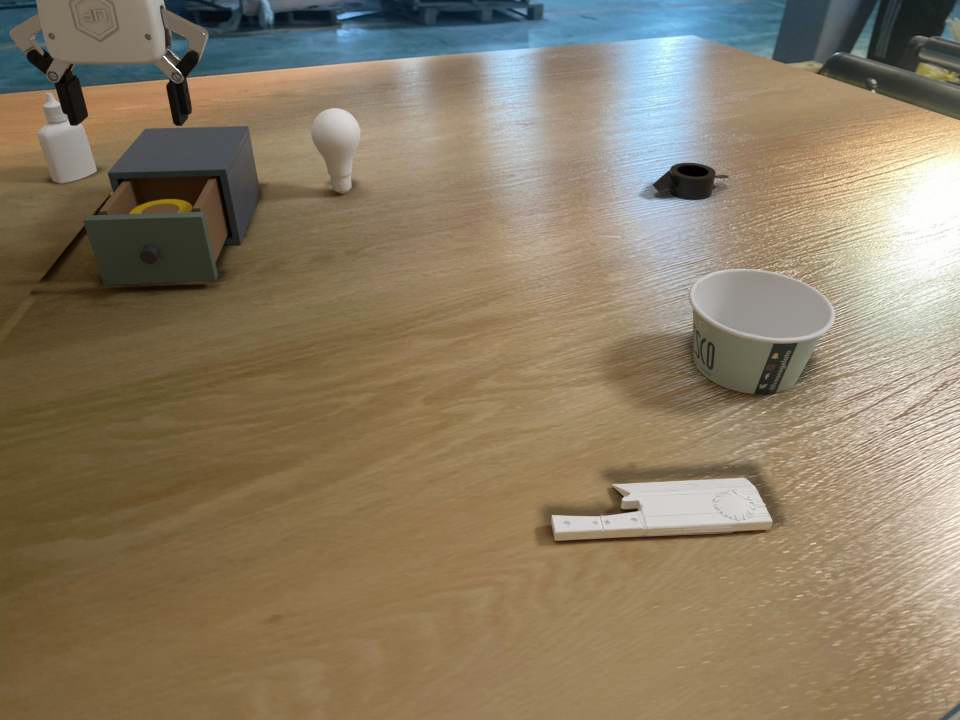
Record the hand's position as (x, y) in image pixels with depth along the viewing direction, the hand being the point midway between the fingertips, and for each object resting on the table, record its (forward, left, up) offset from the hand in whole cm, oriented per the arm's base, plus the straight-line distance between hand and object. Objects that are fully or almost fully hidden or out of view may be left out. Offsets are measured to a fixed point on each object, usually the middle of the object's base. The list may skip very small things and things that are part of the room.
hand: (130, 121), depth 74 cm
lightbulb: (+18, +19, -16) cm, 31 cm away
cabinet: (+1, +12, -16) cm, 20 cm away
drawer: (+1, +1, -15) cm, 15 cm away
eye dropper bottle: (-18, +25, -16) cm, 35 cm away
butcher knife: (+44, -40, -16) cm, 61 cm away
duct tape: (+64, +16, -16) cm, 68 cm away
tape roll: (+1, 0, -14) cm, 14 cm away
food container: (+57, -23, -16) cm, 63 cm away
